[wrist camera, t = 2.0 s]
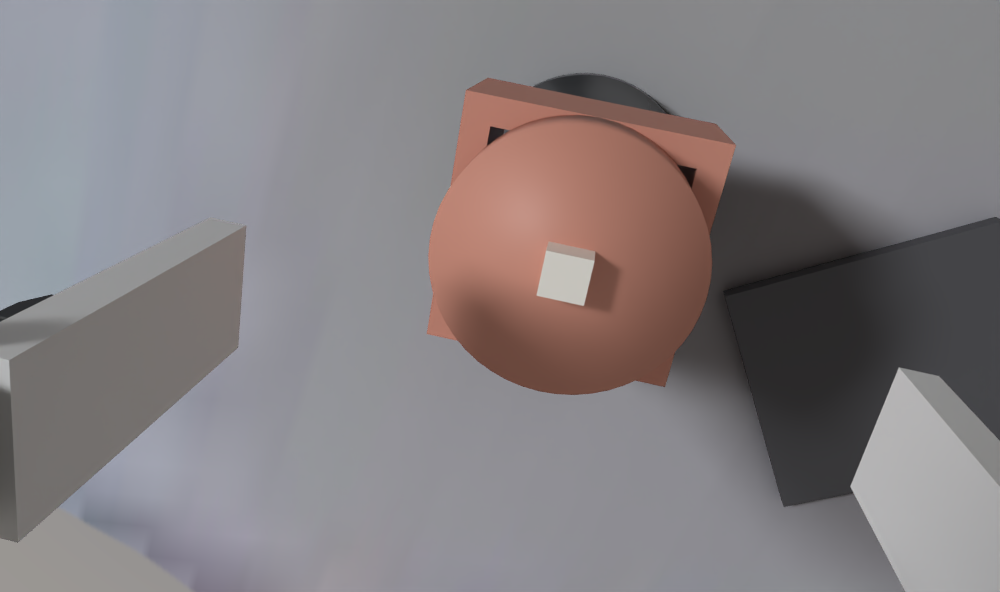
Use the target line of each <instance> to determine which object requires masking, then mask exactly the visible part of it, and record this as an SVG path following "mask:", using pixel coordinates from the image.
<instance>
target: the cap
mask: <svg viewBox="0 0 1000 592" xmlns="http://www.w3.org/2000/svg"><path fill="white" fill-rule="evenodd" d="M505 129H506V130H510V131H508V132H506V133H505V134H504V130H505ZM735 147H736V145H735V144H734V142H733V141H732V140H731V139H730V138H729V137H728V136H727V135H726V134H725V133H724V132H723V131H722V130H721V129H720V128H719V127H718V126H717V124H714V123H709V122H704V121H699V120H694V119H689V118H684V117H679V116H674V115H669V114H664V113H659V112H654V111H649V110H644V109H639V108H634V107H629V106H625V105H620V104H615V103H610V102H605V101H600V100H595V99H590V98H585V97H580V96H575V95H570V94H565V93H560V92H555V91H550V90H545V89H540V88H536V87H531V86H526V85H521V84H516V83H511V82H506V81H501V80H496V79H491V78H487V79H485V80H483V81H482V82H480V83H478V84H476V85H474V86H473V87H471V88H469V89H467V90H466V93H465V100H464V106H463V112H462V118H461V124H460V131H459V137H458V143H457V149H456V156H455V162H454V168H453V174H452V181H451V187H450V188H449V189H448V191H447V193H446V195H445V197H444V199H443V201H442V202H441V204H440V207H439V209H438V212H437V215H436V217H435V220H434V223H433V227H432V232H431V236H430V244H429V256H428V257H429V274H430V280H431V285H432V290H433V299H432V305H431V311H430V318H429V324H428V330H427V334H430V335H434V336H439V337H443V338H448V339H452V340H457V341H459V342H460V344H461V345H462V346H463V347H464V348H465V350H466V351H468V352H469V353H470V354H471V355H472V356H473V357H474V358H475V359H476V360H477V361H478V362H480V363H481V364H482V365H484V366H485V367H486V368H488V369H489V370H491V371H492V372H494V373H496V374H497V375H499V376H501V377H503V378H504V379H506V380H509V381H511V382H513V383H516V384H518V385H520V386H523V387H526V388H530V389H533V390H537V391H541V392H547V393H553V394H567V395H578V394H591V393H597V392H602V391H607V390H611V389H614V388H617V387H620V386H623V385H626V384H628V383H630V382H633V381H635V380H636V381H640V382H645V383H649V384H654V385H658V386H663V387H665V385H666V381H667V378H668V375H669V371H670V368H671V364H672V361H673V358H674V354H675V351H676V350H677V349H678V348H679V347H680V346H681V345H682V344H683V342H684V341H685V340H686V338H687V337H688V335H689V334H690V333H691V331H692V330H693V328H694V326H695V324H696V322H697V321H698V319H699V317H700V315H701V312H702V310H703V307H704V304H705V302H706V299H707V295H708V291H709V286H710V282H711V271H712V251H711V242H710V237H709V235H710V232H711V228H712V225H713V221H714V218H715V215H716V211H717V208H718V204H719V201H720V198H721V194H722V191H723V187H724V184H725V181H726V177H727V174H728V170H729V167H730V164H731V160H732V157H733V153H734V150H735ZM677 165H678V166H677Z"/></svg>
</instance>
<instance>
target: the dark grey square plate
mask: <svg viewBox="0 0 1000 592" xmlns="http://www.w3.org/2000/svg"><path fill="white" fill-rule="evenodd" d="M724 295H725V299H726V302H727V306H728V309H729V313H730V317H731V320H732V324H733V327H734V331H735V335H736V338H737V342H738V345H739V349H740V353H741V356H742V360H743V363H744V367H745V371H746V374H747V378H748V381H749V385H750V389H751V392H752V396H753V399H754V403H755V407H756V410H757V414H758V417H759V421H760V424H761V428H762V432H763V435H764V439H765V442H766V446H767V450H768V453H769V457H770V460H771V464H772V468H773V471H774V475H775V478H776V482H777V486H778V489H779V493H780V496H781V500H782V503H783V505H784V507H786V506H791V505H796V504H800V503H805V502H810V501H815V500H820V499H825V498H830V497H835V496H839V495H844V494H849V493H853V491H852V489H851V487H850V486H851V483H852V481H853V479H854V476H855V474H856V471H857V469H858V466H859V464H860V461H861V459H862V457H863V454H864V452H865V449H866V447H867V444H868V442H869V439H870V437H871V435H872V432H873V430H874V427H875V425H876V422H877V420H878V417H879V415H880V412H881V410H882V408H883V405H884V403H885V400H886V398H887V395H888V393H889V390H890V388H891V386H892V383H893V381H894V378H895V376H896V373H897V371H898V368H899V367H900V368H904V369H909V370H913V371H918V372H923V373H927V374H932V375H936V376H939V377H940V378H941V379H942V380H943V381H944V382H945V383H946V384H947V385H948V386H949V387H950V388H951V389H952V390H953V391H954V393H955V394H956V395H957V396H958V397H959V398H960V399H961V400H962V401H963V402H964V403H965V404H966V405H967V406H968V407H969V409H970V410H971V411H972V412H973V413H974V414H975V415H976V416H977V417H978V418H979V419H980V420H981V421H982V422H983V423H984V425H985V426H986V427H987V428H988V429H989V430H990V431H991V432H992V433H993V434H994V435H995V436H996V437H997V438H998V439H999V441H1000V219H999V218H997V217H994V218H990V219H987V220H983V221H979V222H976V223H972V224H968V225H965V226H961V227H957V228H954V229H950V230H946V231H943V232H939V233H935V234H932V235H928V236H924V237H921V238H917V239H913V240H910V241H906V242H902V243H899V244H895V245H891V246H888V247H884V248H880V249H877V250H873V251H869V252H866V253H862V254H859V255H855V256H851V257H848V258H844V259H840V260H837V261H833V262H829V263H826V264H822V265H818V266H815V267H811V268H807V269H804V270H800V271H796V272H793V273H789V274H785V275H782V276H778V277H774V278H771V279H767V280H763V281H760V282H756V283H752V284H749V285H745V286H741V287H738V288H734V289H730V290H727V291H724Z"/></svg>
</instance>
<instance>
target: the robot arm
mask: <svg viewBox="0 0 1000 592" xmlns="http://www.w3.org/2000/svg"><path fill="white" fill-rule="evenodd" d="M245 237H246V225H242V224H238V223H233V222H228V221H224V220H219V219H215V218H208V219H206V220H204V221H202V222H200V223H198V224H196V225H194V226H192V227H190V228H188V229H186V230H184V231H182V232H180V233H178V234H176V235H174V236H172V237H170V238H168V239H166V240H164V241H162V242H160V243H158V244H156V245H154V246H152V247H150V248H148V249H146V250H144V251H142V252H140V253H138V254H136V255H134V256H132V257H130V258H128V259H126V260H124V261H122V262H120V263H118V264H116V265H114V266H112V267H110V268H108V269H106V270H104V271H102V272H99V273H97V274H95V275H93V276H91V277H89V278H87V279H85V280H83V281H81V282H79V283H77V284H75V285H73V286H71V287H69V288H67V289H65V290H63V291H61V292H59V293H57V294H55V295H48V296H43V297H39V298H35V299H31V300H26V301H22V302H18V303H16V304H14V305H12V306H9V307H7V308H5V309H3V310H1V311H0V538H2V539H6V540H10V541H14V542H19V541H20V540H21V539H23V538H24V537H25V536H26V535H27V534H28V533H29V532H30V531H32V530H33V529H34V528H35V527H36V526H37V525H38V524H40V523H41V522H42V521H43V520H44V519H45V518H46V517H47V516H49V515H50V514H51V513H52V512H53V511H54V510H55V509H56V508H58V507H59V506H60V505H61V504H62V503H63V502H64V501H65V500H67V499H68V498H69V497H70V496H71V495H72V494H73V493H75V492H76V491H77V490H78V489H79V488H80V487H81V486H82V485H84V484H85V483H86V482H87V481H88V480H89V479H90V478H91V477H93V476H94V475H95V474H96V473H97V472H98V471H99V470H100V469H102V468H103V467H104V466H105V465H106V464H107V463H108V462H109V461H111V460H112V459H113V458H114V457H115V456H116V455H117V454H118V453H120V452H121V451H122V450H123V449H124V448H125V447H126V446H128V445H129V444H130V443H131V442H132V441H133V440H134V439H135V438H137V437H138V436H139V435H140V434H141V433H142V432H143V431H144V430H146V429H147V428H148V427H149V426H150V425H151V424H152V423H153V422H155V421H156V420H157V419H158V418H159V417H160V416H161V415H162V414H164V413H165V412H166V411H167V410H168V409H169V408H170V407H171V406H173V405H174V404H175V403H176V402H177V401H178V400H179V399H181V398H182V397H183V396H184V395H185V394H186V393H187V392H188V391H190V390H191V389H192V388H193V387H194V386H195V385H196V384H197V383H199V382H200V381H201V380H202V379H203V378H204V377H205V376H206V375H208V374H209V373H210V372H211V371H212V370H213V369H214V368H215V367H217V366H218V365H219V364H220V363H221V362H222V361H223V360H224V359H226V358H227V357H228V356H229V355H230V354H231V353H232V352H234V351H235V350H236V349H237V348H238V341H239V326H240V311H241V297H242V282H243V267H244V252H245ZM850 487H851V489H852V491H853V493H854V495H855V497H856V499H857V500H858V502H859V504H860V506H861V508H862V510H863V512H864V514H865V516H866V518H867V520H868V521H869V523H870V525H871V527H872V529H873V531H874V533H875V535H876V537H877V539H878V541H879V542H880V544H881V546H882V548H883V550H884V552H885V554H886V556H887V558H888V560H889V562H890V563H891V565H892V567H893V569H894V571H895V573H896V575H897V577H898V579H899V581H900V583H901V584H902V586H903V588H904V590H905V592H1000V441H999V439H998V438H997V437H996V436H995V435H994V434H993V433H992V432H991V431H990V430H989V429H988V428H987V427H986V426H985V425H984V423H983V422H982V421H981V420H980V419H979V418H978V417H977V416H976V415H975V414H974V413H973V412H972V411H971V410H970V409H969V407H968V406H967V405H966V404H965V403H964V402H963V401H962V400H961V399H960V398H959V397H958V396H957V395H956V394H955V393H954V391H953V390H952V389H951V388H950V387H949V386H948V385H947V384H946V383H945V382H944V381H943V380H942V379H941V378H940V377H939V376H936V375H932V374H927V373H923V372H918V371H913V370H909V369H904V368H900V367H899V368H898V371H897V373H896V376H895V378H894V381H893V383H892V386H891V388H890V390H889V393H888V395H887V398H886V400H885V403H884V405H883V408H882V410H881V412H880V415H879V417H878V420H877V422H876V425H875V427H874V430H873V432H872V435H871V437H870V439H869V442H868V444H867V447H866V449H865V452H864V454H863V457H862V459H861V461H860V464H859V466H858V469H857V471H856V474H855V476H854V479H853V481H852V483H851V486H850Z"/></svg>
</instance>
